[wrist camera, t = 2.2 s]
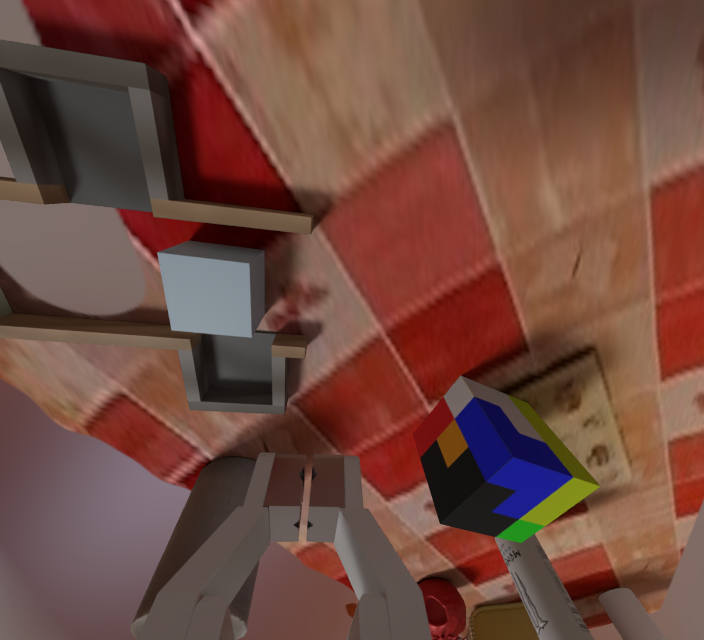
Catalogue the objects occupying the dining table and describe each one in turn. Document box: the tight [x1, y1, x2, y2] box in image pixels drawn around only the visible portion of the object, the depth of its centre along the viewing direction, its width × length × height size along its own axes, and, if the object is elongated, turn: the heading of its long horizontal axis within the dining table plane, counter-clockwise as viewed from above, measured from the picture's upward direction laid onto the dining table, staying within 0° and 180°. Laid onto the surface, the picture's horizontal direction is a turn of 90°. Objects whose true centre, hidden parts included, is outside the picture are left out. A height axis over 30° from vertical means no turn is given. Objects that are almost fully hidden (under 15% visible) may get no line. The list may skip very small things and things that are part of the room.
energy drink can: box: [495, 534, 594, 640], centre depth 38 cm, size 6×6×15 cm
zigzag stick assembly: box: [0, 40, 314, 415], centre depth 21 cm, size 27×27×4 cm
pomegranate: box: [418, 578, 467, 640], centre depth 49 cm, size 10×10×9 cm
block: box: [157, 241, 265, 338], centre depth 22 cm, size 6×6×4 cm
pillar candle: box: [131, 457, 260, 640], centre depth 29 cm, size 10×10×15 cm
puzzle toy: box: [413, 376, 600, 543], centre depth 28 cm, size 10×10×10 cm
